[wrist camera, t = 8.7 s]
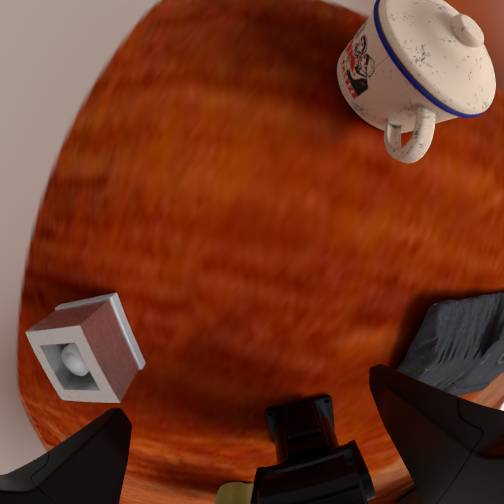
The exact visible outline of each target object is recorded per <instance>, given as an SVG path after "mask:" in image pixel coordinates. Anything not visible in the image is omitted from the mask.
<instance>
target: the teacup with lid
mask: <svg viewBox="0 0 504 504" xmlns="http://www.w3.org/2000/svg"><path fill="white" fill-rule="evenodd" d="M483 42H484V36H483V33H482V31H481V29H480V28H479V26H478V25H477V24H476V23H475V21H473V20H472V19H471V18H470V17H468V16H466V15H464V14H459V13H458V12H457V11H456V10H455V9H454V8H453V7H451V6H450V5H449V4H447V3H446V2H444V1H443V0H377V1H376V2H375V5H374V11H373V12H372V14H371V15H370V16H369V17H368V19H367V20H366V21H365V23H364V24H363V25H362V27H361V28H360V29H359V31H358V32H357V33H356V35H355V36H354V37H353V39H352V40H351V41H350V43H349V44H348V45H347V47H346V48H345V49H344V51H343V52H342V54H341V55H340V58H339V60H338V64H337V78H338V83H339V86H340V89H341V91H342V93H343V95H344V97H345V99H346V101H347V102H348V104H349V105H350V106H351V108H352V109H353V110H354V111H355V112H356V113H357V114H358V115H359V116H360V117H361V118H362V119H364V120H365V121H366V122H368V123H369V124H371V125H372V126H374V127H376V128H378V129H381V130H383V131H384V142H385V147H386V150H387V151H388V153H389V154H390V155H391V156H392V157H393V158H394V159H396V160H398V161H401V162H403V163H413V162H416V161H418V160H419V159H420V158H422V157H423V155H424V154H425V153H426V151H427V150H428V148H429V146H430V144H431V141H432V138H433V134H434V128H435V123H439V122H442V121H446V120H449V119H453V118H456V117H463V118H472V117H476V116H479V115H481V114H482V113H483V112H484V111H485V110H486V109H487V108H488V107H489V106H490V104H491V103H492V100H493V98H494V95H495V86H496V83H495V74H494V69H493V66H492V62H491V60H490V57H489V55H488V52H487V50H486V48H485V46H484V44H483ZM412 130H414V131H413V134H412V136H411V138H410V140H409V141H408V143H407V144H406V145H405V146H404V147H401V133H405V132H409V131H412Z"/></svg>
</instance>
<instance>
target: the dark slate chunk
mask: <svg viewBox="0 0 504 504" xmlns="http://www.w3.org/2000/svg"><path fill="white" fill-rule="evenodd" d="M396 371H399V372H401V373H403V374H405V375H408V376H410V377H412V378H415V379H417V380H419V381H421V382H424V383H426V384H428V385H431V386H433V387H436V388H438V389H440V390H443V391H445V392H448V393H450V394H452V395H455V396H458V395H464V394H467V393H473V392H477V391H482V390H483V389H484V388H486V387H487V386H488V385H489V384H490V382H491V381H493V380H494V379H495V378H497V377H498V376H499V375H500V374H501V373H503V372H504V292H503V293H502V292H499V293H497V294H496V293H494V294H493V293H492V294H490V295H487V294H485V295H480V296H477V297H470V298H465V299H459V300H444V301H441V302H439V303H435V304H433V305H432V306H430V307H429V308H428V310H427V313H426V315H425V317H424V320H423V322H422V324H421V326H420V328H419V330H418V332H417V333H416V336H415V338H414V340H413V342H412V343H411V345H410V348H409V349H408V351H407V354H406V356H405V358H404V360H403V361H402V362H401V363H400V364H399V366H398V368H397V369H396Z"/></svg>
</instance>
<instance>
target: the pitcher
mask: <svg viewBox="0 0 504 504" xmlns="http://www.w3.org/2000/svg"><path fill="white" fill-rule="evenodd" d="M397 504H425V503H424V501H423V499H422V497H421V495H420V493H419V491H418V489H415V490H413V491H412V492H410V493H409V494H407V495H406V496H404V497H403V498H402V499H401V500H400V501H399V502H398V503H397Z"/></svg>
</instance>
